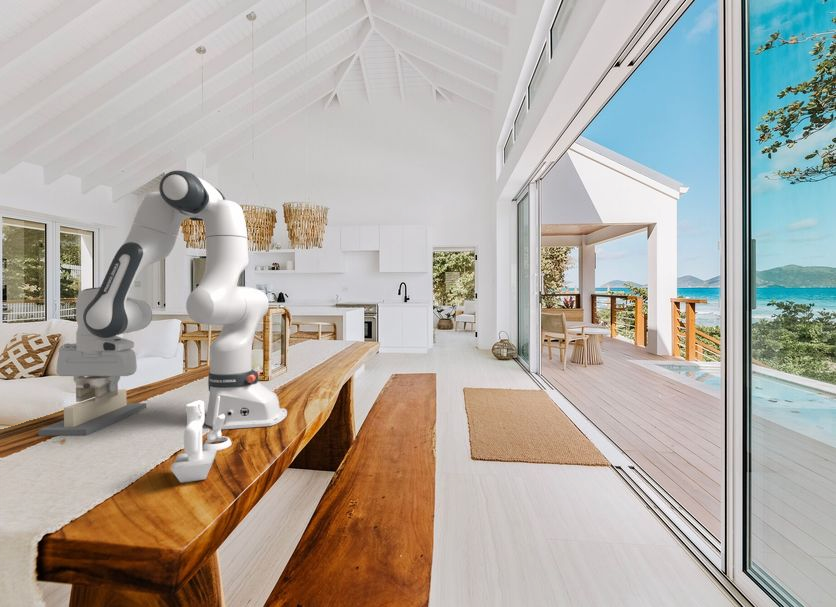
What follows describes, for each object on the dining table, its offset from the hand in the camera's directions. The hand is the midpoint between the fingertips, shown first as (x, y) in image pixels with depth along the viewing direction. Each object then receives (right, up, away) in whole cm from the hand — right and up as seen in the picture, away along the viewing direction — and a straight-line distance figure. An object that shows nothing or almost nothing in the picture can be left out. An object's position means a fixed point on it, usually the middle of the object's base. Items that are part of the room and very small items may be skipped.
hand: (97, 391), depth 113 cm
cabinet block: (0, -2, 0) cm, 2 cm away
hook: (+44, -10, -18) cm, 48 cm away
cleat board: (0, -9, 0) cm, 9 cm away
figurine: (+48, -10, -34) cm, 59 cm away
